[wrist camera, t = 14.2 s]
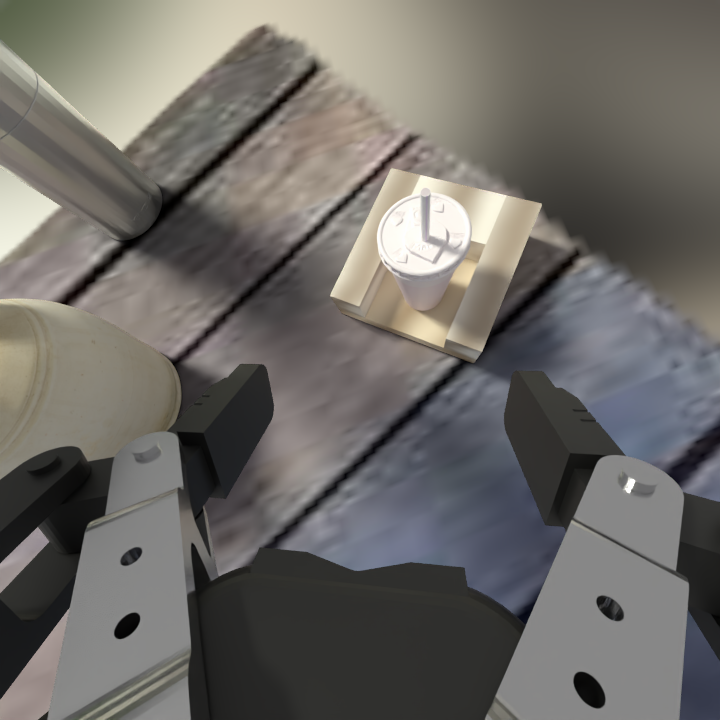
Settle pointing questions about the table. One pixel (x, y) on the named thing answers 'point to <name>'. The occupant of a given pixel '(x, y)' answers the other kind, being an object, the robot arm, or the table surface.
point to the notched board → (469, 281)
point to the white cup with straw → (424, 245)
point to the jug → (77, 383)
